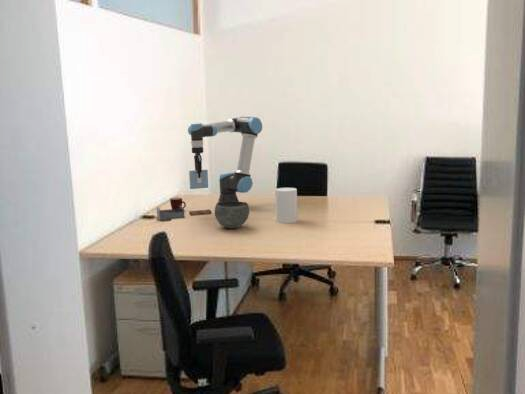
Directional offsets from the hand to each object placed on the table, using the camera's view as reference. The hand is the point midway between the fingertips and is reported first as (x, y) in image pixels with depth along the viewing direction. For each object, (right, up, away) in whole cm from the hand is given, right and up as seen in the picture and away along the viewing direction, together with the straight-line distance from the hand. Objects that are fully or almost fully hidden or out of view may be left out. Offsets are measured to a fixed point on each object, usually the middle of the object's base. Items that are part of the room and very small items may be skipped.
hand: (198, 182), depth 385 cm
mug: (-16, -21, +15) cm, 30 cm away
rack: (-18, -24, -2) cm, 30 cm away
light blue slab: (0, -4, +1) cm, 4 cm away
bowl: (+24, -28, -33) cm, 49 cm away
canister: (+57, -25, -18) cm, 65 cm away
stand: (+1, -22, +4) cm, 22 cm away
